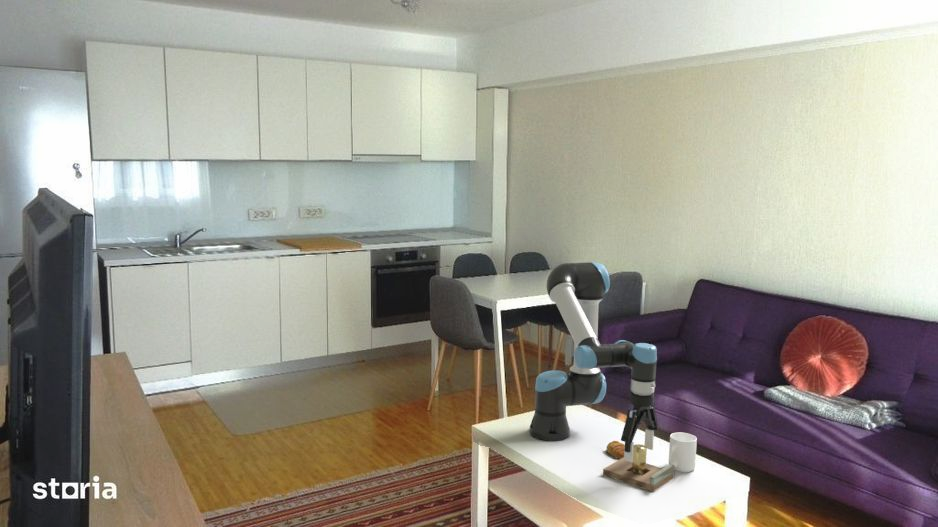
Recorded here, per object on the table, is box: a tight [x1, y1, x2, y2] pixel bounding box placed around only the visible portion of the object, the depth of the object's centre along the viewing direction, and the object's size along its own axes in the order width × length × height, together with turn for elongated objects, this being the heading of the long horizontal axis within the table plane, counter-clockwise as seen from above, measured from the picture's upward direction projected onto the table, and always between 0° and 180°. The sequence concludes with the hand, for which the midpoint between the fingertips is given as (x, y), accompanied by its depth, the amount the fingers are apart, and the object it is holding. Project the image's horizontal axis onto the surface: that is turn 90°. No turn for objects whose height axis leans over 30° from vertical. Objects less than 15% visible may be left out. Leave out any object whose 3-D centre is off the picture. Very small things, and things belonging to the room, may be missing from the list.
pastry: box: [606, 440, 625, 460], centre depth 250 cm, size 9×7×4 cm
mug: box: [668, 431, 698, 473], centre depth 239 cm, size 9×12×11 cm
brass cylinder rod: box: [632, 443, 648, 476], centre depth 232 cm, size 4×4×10 cm
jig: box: [602, 457, 675, 492], centre depth 232 cm, size 18×14×4 cm
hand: (638, 454), depth 232 cm, fingers open, 13 cm apart
